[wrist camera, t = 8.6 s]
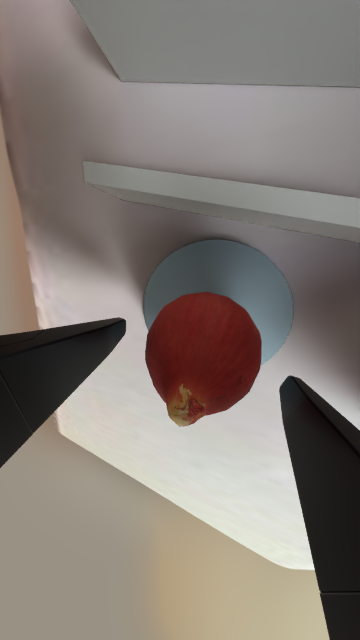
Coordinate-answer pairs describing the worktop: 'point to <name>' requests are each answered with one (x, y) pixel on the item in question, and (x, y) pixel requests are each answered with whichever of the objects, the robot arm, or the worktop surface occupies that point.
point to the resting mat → (226, 286)
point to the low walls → (229, 68)
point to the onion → (202, 355)
